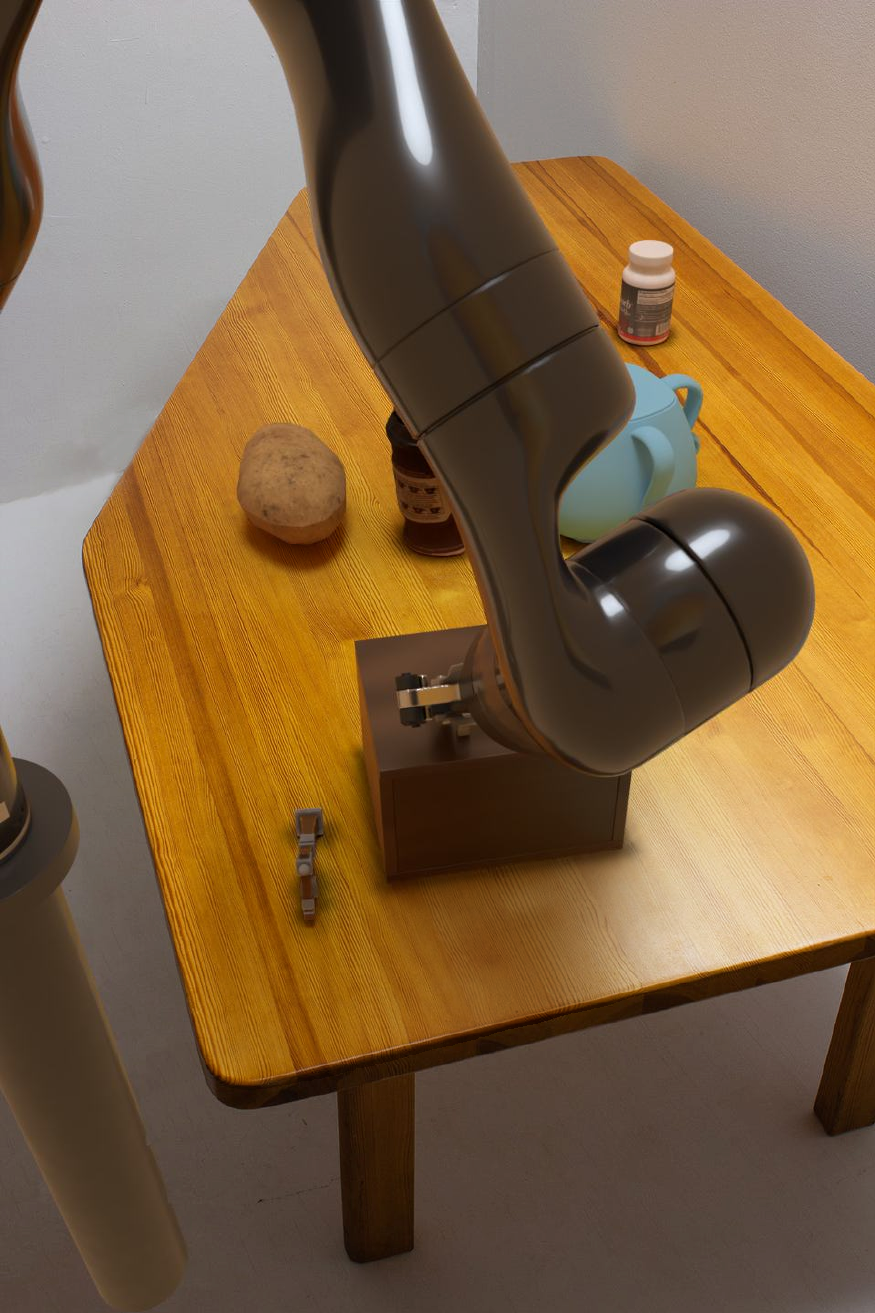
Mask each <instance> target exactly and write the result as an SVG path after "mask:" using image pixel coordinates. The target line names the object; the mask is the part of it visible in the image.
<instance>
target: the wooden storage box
mask: <svg viewBox="0 0 875 1313" xmlns="http://www.w3.org/2000/svg"><path fill="white" fill-rule="evenodd" d="M354 655H355V668H356V678H357V679H356V681H357V692H358V693H357V694H358V703H359V717H360V727H361V729H360V730H361V738H362V750H363V751H362V753H363V760H364V765H365V771H366V776H367V781H368V787H369V794H370V797H371V804H372V809H373V815H374V821H375V827H376V832H377V838H378V843H379V849H380V854H381V861H382V866H383V872H384V877H385V883H396V882H401V881H408V880H415V879H422V878H428V877H434V876H441V875H449V874H455V873H462V872H467V871H469V872H470V871H474V870H475V871H476V870H481V869H488V868H495V867H502V866H508V865H516V864H522V863H529V862H535V861H542V860H543V861H544V860H548V859H556V858H561V857H569V856H576V855H582V854H590V853H595V852H596V853H597V852H602V851H609V850H617V849H623V848H624V841H625V840H624V839H625V832H626V824H627V816H628V808H629V799H630V790H631V785H632V776H633V775H632V774H633V770H632V771H630V772H628V773H626V774H623V775H620V776H615V777H595V776H590V775H586V774H584V773H581V772H578V771H575V770H573V769H571V768H569V767H567V766H565V765H563V764H562V763H560V762H558V761H556V760H555V759H554V758H552V757H549V758H542V759H535V760H528V761H521V762H513V763H506V764H499V765H492V766H485V767H477V768H470V769H463V770H456V771H449V772H441V773H434V774H427V775H420V776H413V777H405V778H398V779H391V780H384V781H381V780H380V777H379V771H378V766H377V761H376V756H375V751H374V746H373V740H372V735H371V730H370V725H369V720H368V715H367V709H366V704H365V699H364V694H363V689H362V684H361V678H360V673H359V668H358V663H357V658H356V653H355V652H354Z"/></svg>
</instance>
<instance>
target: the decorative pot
mask: <svg viewBox="0 0 875 1313" xmlns="http://www.w3.org/2000/svg"><path fill="white" fill-rule="evenodd" d="M624 363H625V365H626V367H627V369H628V371H629V374H630V376H631V378H632V381H633V384H634V387H635V393H636V405H635V409H634V412H633V415H632V417H631V419H630V420H629V422H628V423H627V425H626V426H625V427H624V428H623V430H622V431H621V432H620V433H619V434H618V435H617V436H616V438H615V439H614V440H612V441H611V442H610V443H609V444H608V445H607V446H606V447H605V448H604V449H603V450H602V451H601V452H600V453H599V454H598V455H597V456H596V457H595V458H594V459H593V460H592V461H591V462H590V463H589V464H588V465H587V466H586V467H585V468H584V469H583V470H582V471H581V472H580V473H579V474H578V475H577V476H576V477H575V479H574V480H573V481H572V483H571V484H570V485H569V487H568V488H567V490H566V491H565V493H564V495H563V498H562V501H561V506H560V516H559V534H560V536H561V535H562V536H563V537H567V538H570V539H574V540H575V541H577V542H579V543H585V544H591V543H592V542H594V541H595V540H597V539H599V538H600V537H602V536H603V535H605V534H607V533H608V532H610V531H611V530H613V529H615V528H616V527H618V526H619V525H621V524H623V523H624V522H626V521H627V520H629V519H630V518H631V517H633V516H634V515H636V514H638V513H639V512H641V511H642V510H644V509H646V508H647V507H649V506H650V505H652V504H654V503H655V502H657V501H659V500H660V499H662V498H664V497H666V496H668V495H670V494H672V493H674V492H677V491H680V490H684V489H688V488H694V487H697V481H698V480H697V479H698V458H697V455H698V454H699V452H700V449H701V442H700V439H699V436H698V435H697V434H696V433H695V432H693V429H694V427H695V424H696V422H697V421H698V418H699V415H700V413H701V411H702V406H703V402H704V392H703V389H702V386H701V385H700V384H699V383H698V381H696V380H695V379H694V378H692V376H689V375H686V374H683V373H671V374H668V375H666V376H664V377H661V378H659V377H658V376H656V375H655V374H654V373H653V372H651V371H649V370H648V369H646V368H644V367H642V366H639V365H638V364H635V363H629V362H624ZM681 389H687V392H686V398H685V401H684V404H683V406H682V404H681V402H680V400H679V397H678V396H677V394H676V392H675V391H678V390H681Z"/></svg>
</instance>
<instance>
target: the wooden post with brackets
mask: <svg viewBox="0 0 875 1313" xmlns="http://www.w3.org/2000/svg"><path fill="white" fill-rule="evenodd" d="M323 816H324V815H323V807H313V808H299V809H294V820H295V830H296V836H297V837H299V841H298V845H297V846H298V852H297V853H296V860H295V869H296V870H295V871H296V876H297V877H300V881H301V882H300V883H299V887H300V897H301V898H300V899H301V907H302V911H303V915H304V916H303V919H304V921H312V920H313V921H314V920H315V917H316V914H315V906H316V904H315V899H318V898H319V892H318V889H319V888H318V887H319V886H318V878H317V875H313V869H314V866H315V865H314V863H315V862H314V859H316V855H317V854H316V849H317V841H316V838H317V836H318V835H321V836H322V835H324V833H325V828H324V827H325V826H324V817H323Z"/></svg>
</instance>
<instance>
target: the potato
mask: <svg viewBox="0 0 875 1313" xmlns="http://www.w3.org/2000/svg"><path fill="white" fill-rule="evenodd" d="M236 499H237V502H238V503H239V506H240V508H241V510H242V511H243V513H244V514H245V515H246V517H247V519H248V520H249V521H250V522H251V524H252V525H253V526H254V527H256V528H258V529H261V530H263V531H265V532H267V533H268V534H270V535H273V536H274V537H276V538H278V539H280V540H282V541H283V542H286V543H287V544H290V545H312V544H314V543H315V544H316V543H317V542H320V541H324V540H326V539H327V538H331V535H332V534H333V532H334V531H335V530H336V529H337V527H338V526H339V525H340V523H341V522H342V520H343V518H344V517H345V515H346V513H347V477H346V470H345V466H344V464H343V463H342V461H341V459H340V458H339V456H338V455H337V453H335V452H334V451H333V450H332V449H331V448H330V446H328V445H327V444H326V443H325V442H324V441H323V440H322V439H321V438H320V437H318V436H317V435H316V433H315V432H313V430H311V429H309V428H307V427H304V426H301V425H299V424H295V423H292V422H272V423H268V424H266V425H265V424H264V425H262V426H260V427H259V428H258V429H257V430H256V432H254V434H253V435H252V436H251V437H250V438H249V439H248V441H246V443H245V446H244V450H243V452H242V457H241V460H240V464H239V470H238V479H237V485H236Z"/></svg>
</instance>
